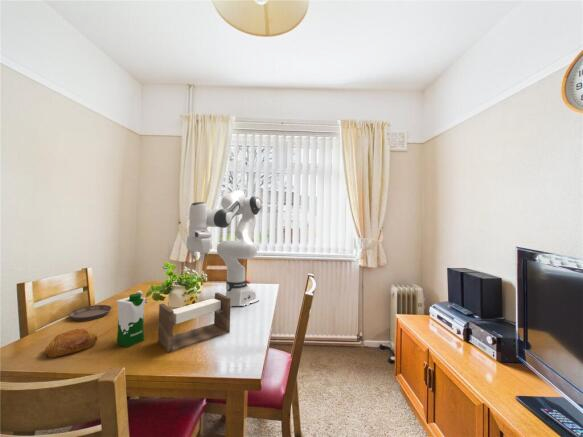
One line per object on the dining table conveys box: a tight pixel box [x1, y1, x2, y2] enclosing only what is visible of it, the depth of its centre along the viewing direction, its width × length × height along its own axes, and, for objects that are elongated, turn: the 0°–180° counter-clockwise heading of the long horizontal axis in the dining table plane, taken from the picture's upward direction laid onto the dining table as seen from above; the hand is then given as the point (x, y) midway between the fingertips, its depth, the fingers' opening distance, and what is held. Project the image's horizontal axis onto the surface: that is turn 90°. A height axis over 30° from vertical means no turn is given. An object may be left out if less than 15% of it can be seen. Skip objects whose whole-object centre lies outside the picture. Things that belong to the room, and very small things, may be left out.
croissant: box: [44, 328, 99, 358], centre depth 101 cm, size 14×16×8 cm
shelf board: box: [172, 298, 221, 325], centre depth 113 cm, size 22×6×4 cm, turn 144°
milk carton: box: [116, 293, 146, 348], centre depth 107 cm, size 9×9×20 cm
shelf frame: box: [157, 292, 231, 354], centre depth 112 cm, size 27×12×16 cm, turn 135°
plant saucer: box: [68, 304, 112, 322], centre depth 134 cm, size 18×18×3 cm
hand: (197, 260), depth 131 cm, fingers open, 8 cm apart
